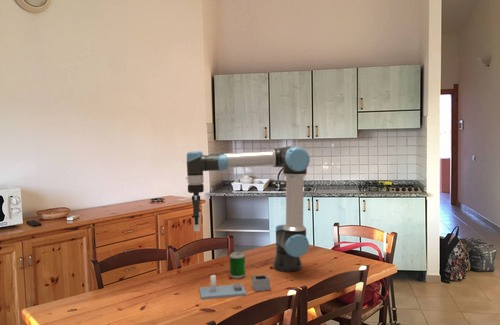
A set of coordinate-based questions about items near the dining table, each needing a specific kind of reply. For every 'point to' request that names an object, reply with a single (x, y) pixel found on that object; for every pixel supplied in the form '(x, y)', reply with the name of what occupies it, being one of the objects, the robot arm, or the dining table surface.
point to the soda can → (237, 265)
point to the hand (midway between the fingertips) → (197, 228)
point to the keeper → (221, 290)
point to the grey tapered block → (260, 283)
